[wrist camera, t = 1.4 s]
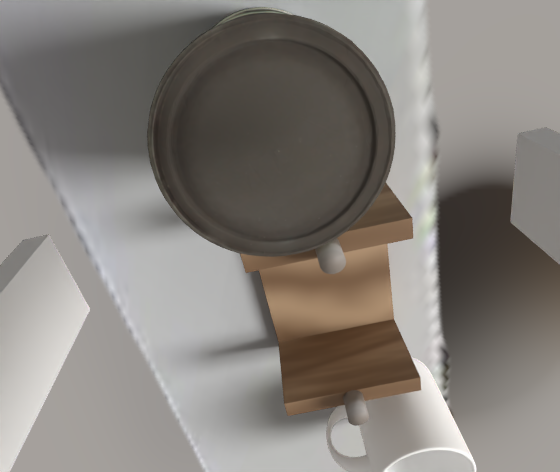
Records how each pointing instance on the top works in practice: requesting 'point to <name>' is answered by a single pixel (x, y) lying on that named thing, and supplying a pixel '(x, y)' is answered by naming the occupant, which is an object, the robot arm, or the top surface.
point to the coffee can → (271, 134)
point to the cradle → (340, 316)
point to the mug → (407, 433)
